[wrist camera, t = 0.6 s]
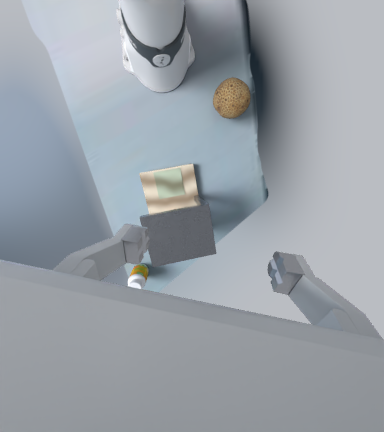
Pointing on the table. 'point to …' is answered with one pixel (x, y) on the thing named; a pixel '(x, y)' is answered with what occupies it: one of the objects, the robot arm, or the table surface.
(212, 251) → the tunnel roof
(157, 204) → the birch board
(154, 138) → the table surface
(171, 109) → the table surface
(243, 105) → the natural sponge
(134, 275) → the supplement bottle
